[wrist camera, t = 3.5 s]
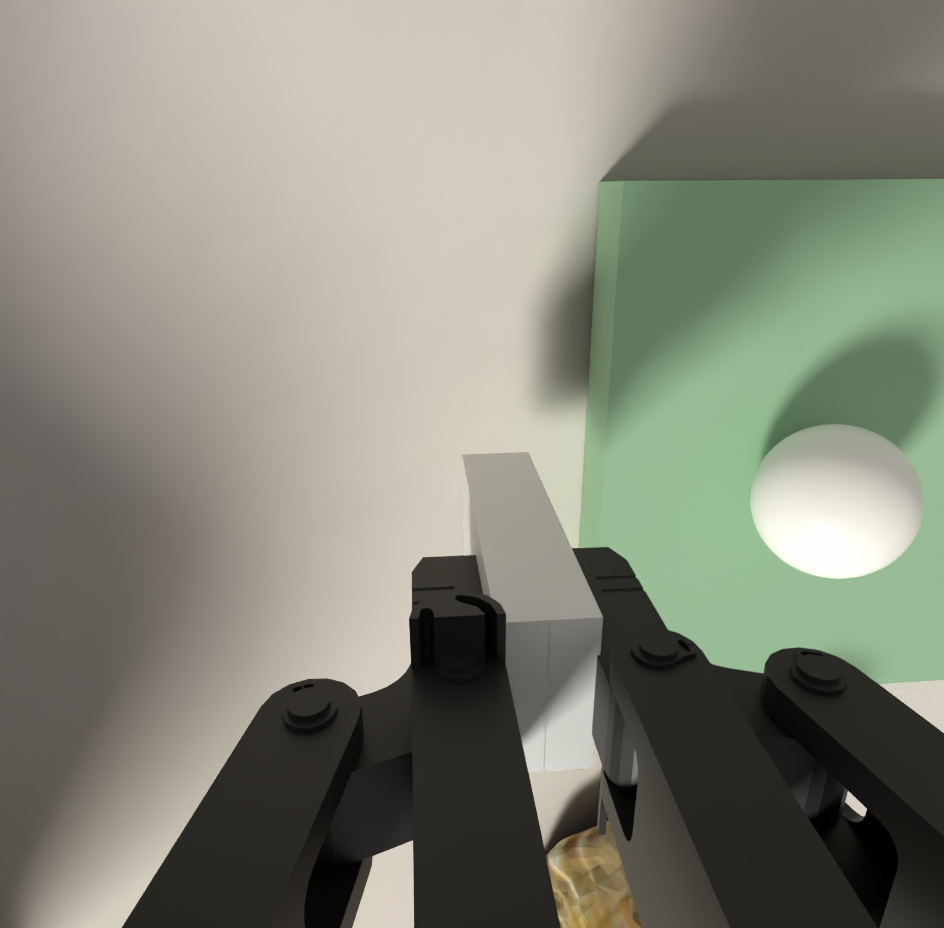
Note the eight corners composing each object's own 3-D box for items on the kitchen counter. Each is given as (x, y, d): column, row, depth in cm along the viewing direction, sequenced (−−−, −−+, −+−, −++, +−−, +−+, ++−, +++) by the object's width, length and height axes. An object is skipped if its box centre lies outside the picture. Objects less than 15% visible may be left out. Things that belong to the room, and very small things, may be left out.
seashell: (515, 701, 27) (657, 793, 17) (701, 689, 29) (918, 763, 19) (516, 962, 26) (668, 1215, 16) (708, 928, 28) (941, 1131, 18)
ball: (717, 537, 19) (785, 613, 15) (735, 407, 17) (813, 459, 14) (846, 531, 19) (941, 605, 15) (874, 402, 18) (984, 453, 14)
